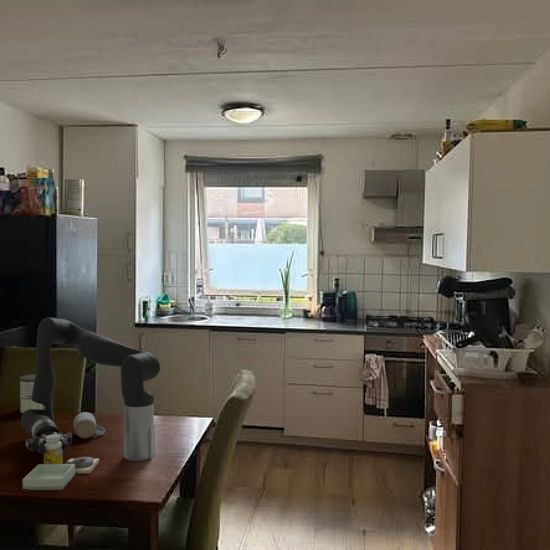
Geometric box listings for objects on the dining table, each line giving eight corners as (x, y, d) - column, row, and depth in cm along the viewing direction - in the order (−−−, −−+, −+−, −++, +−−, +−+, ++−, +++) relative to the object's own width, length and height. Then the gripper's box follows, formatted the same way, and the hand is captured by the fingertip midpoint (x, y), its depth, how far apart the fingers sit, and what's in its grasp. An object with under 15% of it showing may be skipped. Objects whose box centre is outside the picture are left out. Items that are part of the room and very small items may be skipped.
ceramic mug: (74, 440, 189) (75, 419, 189) (73, 433, 196) (73, 412, 196) (106, 437, 193) (106, 416, 193) (103, 430, 201) (103, 410, 201)
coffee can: (16, 409, 226) (16, 375, 226) (42, 405, 233) (42, 372, 232) (23, 415, 218) (23, 380, 218) (50, 410, 225) (50, 376, 224)
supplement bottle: (66, 466, 166) (66, 435, 166) (51, 472, 162) (51, 440, 161) (54, 462, 169) (54, 432, 169) (39, 468, 164) (39, 437, 164)
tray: (75, 474, 161) (75, 464, 160) (62, 489, 150) (62, 479, 150) (38, 474, 160) (38, 464, 160) (22, 490, 150) (22, 479, 149)
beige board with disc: (99, 461, 170) (99, 452, 170) (90, 473, 161) (90, 463, 161) (70, 461, 170) (69, 452, 170) (59, 473, 161) (59, 464, 161)
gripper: (21, 425, 173) (28, 440, 159) (68, 418, 181) (79, 432, 167) (21, 448, 174) (28, 465, 159) (68, 440, 181) (79, 456, 167)
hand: (54, 448), depth 163 cm, fingers closed on supplement bottle, 5 cm apart
